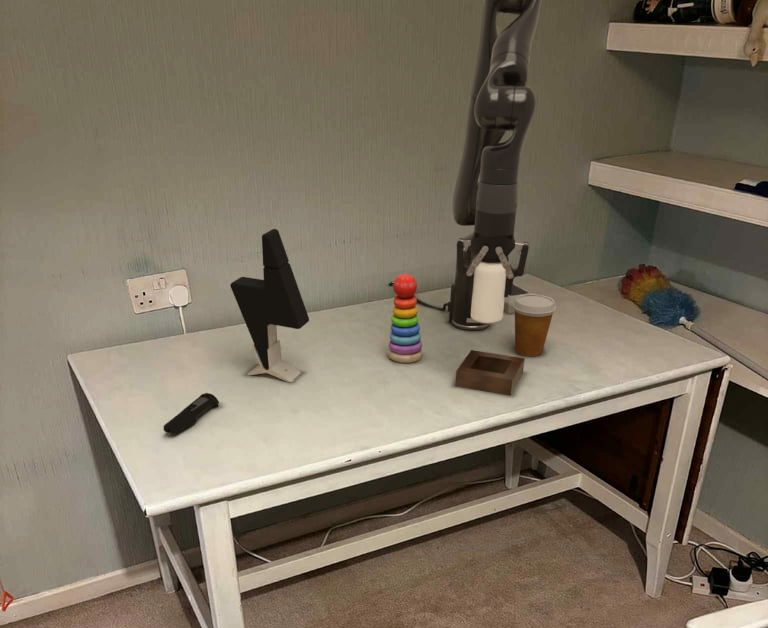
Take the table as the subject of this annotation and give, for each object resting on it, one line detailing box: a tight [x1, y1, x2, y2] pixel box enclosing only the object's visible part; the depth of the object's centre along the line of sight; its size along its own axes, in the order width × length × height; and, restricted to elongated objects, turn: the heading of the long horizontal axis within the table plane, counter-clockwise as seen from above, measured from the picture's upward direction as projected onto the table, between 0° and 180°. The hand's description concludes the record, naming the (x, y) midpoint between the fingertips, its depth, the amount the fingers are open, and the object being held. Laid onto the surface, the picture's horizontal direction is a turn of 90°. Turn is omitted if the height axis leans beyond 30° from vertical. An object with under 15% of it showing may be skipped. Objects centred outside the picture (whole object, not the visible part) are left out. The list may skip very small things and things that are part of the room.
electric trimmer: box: [163, 392, 220, 435], centre depth 148 cm, size 4×16×3 cm, turn 158°
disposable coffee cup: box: [513, 293, 557, 357], centre depth 175 cm, size 10×10×12 cm
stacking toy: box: [387, 273, 424, 364], centre depth 170 cm, size 8×8×19 cm
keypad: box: [503, 282, 534, 315], centre depth 205 cm, size 10×4×15 cm
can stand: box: [454, 349, 526, 396], centre depth 165 cm, size 12×12×4 cm
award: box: [230, 228, 310, 383], centre depth 158 cm, size 15×5×30 cm, turn 71°
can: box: [471, 260, 507, 325], centre depth 152 cm, size 6×6×12 cm
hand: (488, 294), depth 153 cm, fingers closed on can, 6 cm apart
